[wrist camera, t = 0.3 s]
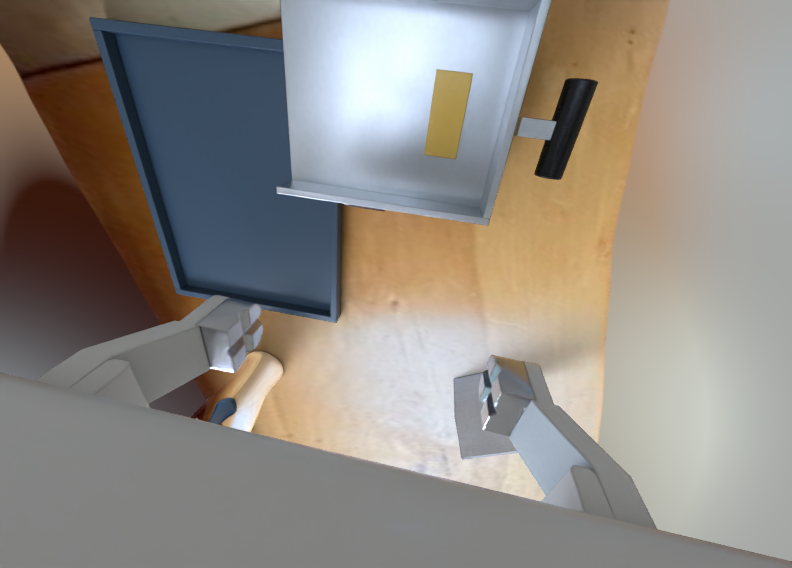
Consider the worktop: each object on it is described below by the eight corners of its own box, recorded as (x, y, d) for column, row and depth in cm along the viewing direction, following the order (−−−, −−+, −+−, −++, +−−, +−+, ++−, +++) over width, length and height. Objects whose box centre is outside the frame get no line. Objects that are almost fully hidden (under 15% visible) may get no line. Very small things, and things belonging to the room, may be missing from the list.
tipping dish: (282, -23, 18) (250, -50, 15) (606, 10, 16) (640, -13, 13) (295, 184, 24) (274, 194, 21) (531, 220, 22) (543, 235, 20)
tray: (107, 21, 26) (87, 16, 25) (345, 49, 25) (339, 45, 23) (185, 287, 40) (176, 293, 39) (340, 315, 39) (336, 323, 37)
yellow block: (436, 70, 18) (436, 69, 18) (472, 74, 18) (473, 73, 18) (424, 153, 21) (423, 155, 20) (455, 158, 21) (455, 159, 20)
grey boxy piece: (453, 379, 41) (455, 448, 33) (502, 368, 39) (518, 440, 30) (462, 396, 43) (467, 467, 34) (510, 387, 40) (527, 460, 32)
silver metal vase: (272, 345, 43) (197, 443, 30) (294, 378, 46) (235, 481, 33) (234, 352, 45) (150, 447, 32) (258, 384, 48) (189, 482, 35)
